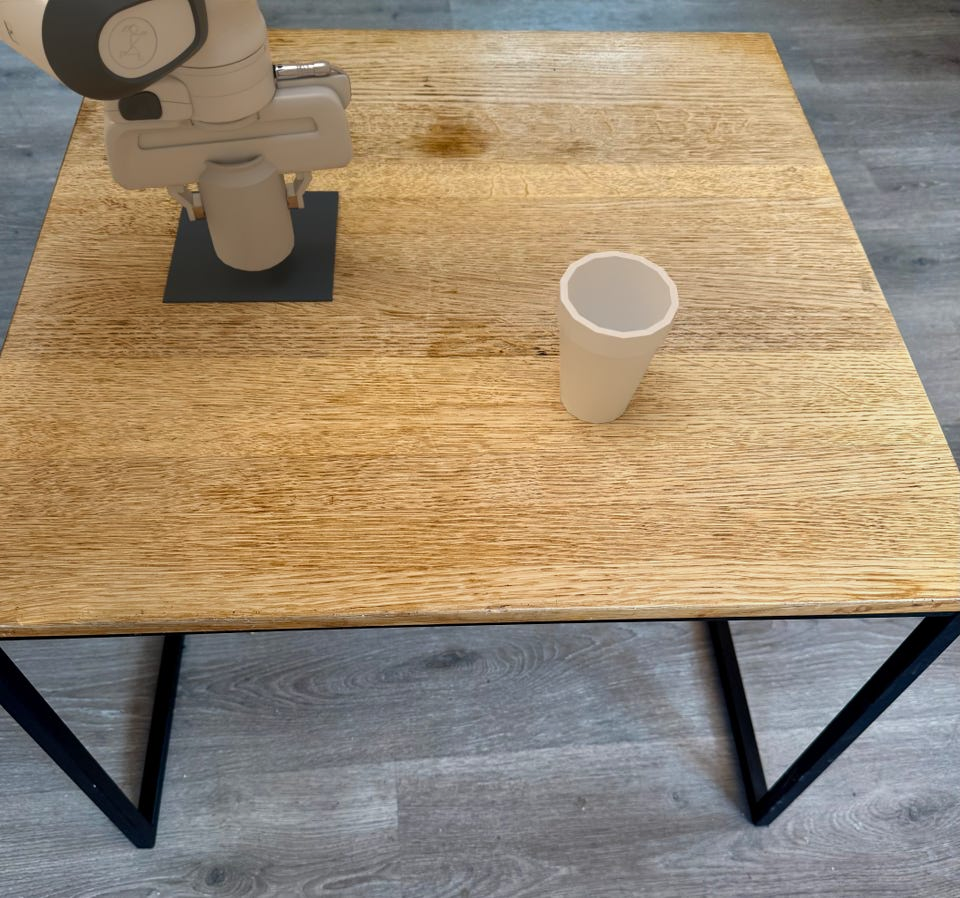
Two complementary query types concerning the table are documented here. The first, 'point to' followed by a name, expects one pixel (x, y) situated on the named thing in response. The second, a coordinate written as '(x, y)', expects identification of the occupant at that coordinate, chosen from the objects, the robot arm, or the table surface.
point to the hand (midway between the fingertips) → (247, 210)
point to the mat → (289, 281)
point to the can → (247, 213)
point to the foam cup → (610, 330)
